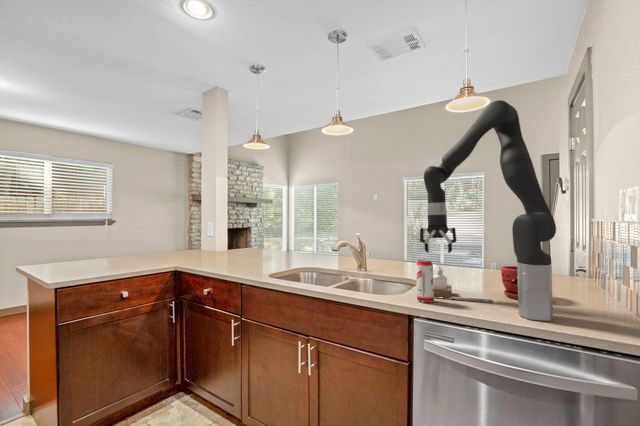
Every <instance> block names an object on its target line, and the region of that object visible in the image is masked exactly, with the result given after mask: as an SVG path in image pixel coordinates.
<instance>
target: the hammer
mask: <svg viewBox="0 0 640 426" xmlns="http://www.w3.org/2000/svg"><path fill="white" fill-rule="evenodd" d="M452 288H453V287H452V284H447V289H434V297H443V298H451V299H455V300H454V301H461V300H464V302H473V301H475V302H476V303H486V302H487V304H493V302H494V300H493V299H486V298H476V297H473V298H472V297H462V296H460V297H459V296H452V295H451V294H452V291H453V290H452ZM451 299H450V300H451Z"/></svg>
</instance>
